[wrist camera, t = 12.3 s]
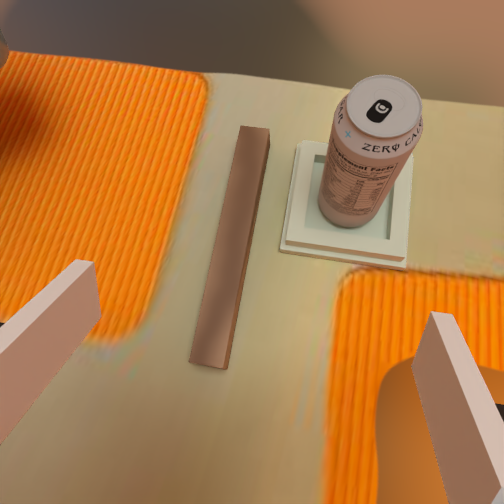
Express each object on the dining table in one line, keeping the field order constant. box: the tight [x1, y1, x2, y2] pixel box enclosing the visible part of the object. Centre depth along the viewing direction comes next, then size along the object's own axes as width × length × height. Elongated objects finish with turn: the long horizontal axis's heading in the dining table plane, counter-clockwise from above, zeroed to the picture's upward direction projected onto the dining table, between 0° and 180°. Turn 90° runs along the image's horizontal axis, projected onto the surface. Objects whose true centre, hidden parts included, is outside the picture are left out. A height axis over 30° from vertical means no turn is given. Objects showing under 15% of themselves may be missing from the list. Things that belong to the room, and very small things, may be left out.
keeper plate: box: [280, 140, 414, 271], centre depth 40 cm, size 12×12×2 cm
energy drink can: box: [318, 75, 423, 227], centre depth 33 cm, size 6×6×15 cm
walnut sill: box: [189, 126, 270, 369], centre depth 39 cm, size 3×24×3 cm, turn 170°
